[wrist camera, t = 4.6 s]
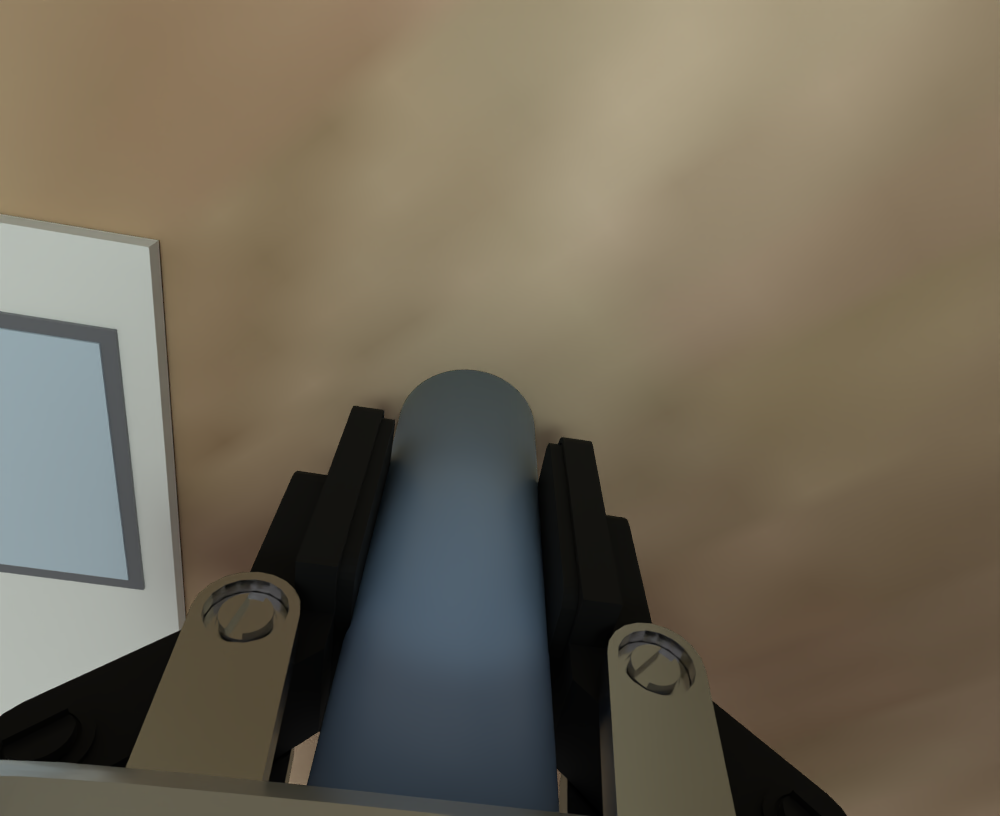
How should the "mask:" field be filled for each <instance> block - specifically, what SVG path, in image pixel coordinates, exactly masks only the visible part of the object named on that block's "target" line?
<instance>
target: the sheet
mask: <svg viewBox="0 0 1000 816" xmlns="http://www.w3.org/2000/svg"><path fill="white" fill-rule="evenodd" d="M185 619H186V617H185V603H184V589H183V575H182V561H181V547H180V533H179V519H178V505H177V491H176V477H175V463H174V449H173V435H172V421H171V407H170V393H169V379H168V365H167V351H166V337H165V323H164V309H163V295H162V281H161V267H160V253H159V240H154V239H148V238H142V237H136V236H130V235H124V234H118V233H112V232H106V231H100V230H94V229H88V228H82V227H76V226H70V225H64V224H58V223H52V222H46V221H40V220H34V219H28V218H22V217H16V216H10V215H4V214H0V716H1V715H2V714H3V713H5V712H7V711H8V710H10V709H12V708H14V707H15V706H17V705H19V704H21V703H22V702H24V701H26V700H29V699H31V698H33V697H35V696H37V695H39V694H42V693H44V692H46V691H48V690H50V689H53V688H55V687H57V686H59V685H61V684H63V683H66V682H68V681H70V680H72V679H74V678H77V677H79V676H81V675H83V674H85V673H87V672H90V671H92V670H94V669H96V668H98V667H101V666H103V665H105V664H107V663H109V662H112V661H114V660H116V659H118V658H120V657H122V656H125V655H127V654H129V653H131V652H133V651H136V650H138V649H140V648H142V647H144V646H146V645H149V644H151V643H153V642H155V641H157V640H160V639H162V638H164V637H166V636H168V635H170V634H173V633H175V632H177V631H179V630H181V629H182V627H183V624H184V622H185Z"/></svg>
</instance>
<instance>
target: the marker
mask: <svg viewBox="0 0 1000 816" xmlns="http://www.w3.org/2000/svg"><path fill="white" fill-rule="evenodd" d="M307 786H317V787H327V788H336V789H346V790H356V791H365V792H374V793H384V794H393V795H402V796H412V797H421V798H430V799H440V800H449V801H458V802H467V803H476V804H486V805H495V806H504V807H513V808H522V809H531V810H541V811H550V812H559V798H558V782H557V767H556V751H555V736H554V720H553V705H552V689H551V674H550V658H549V652H548V637H547V621H546V605H545V589H544V574H543V558H542V542H541V526H540V511H539V495H538V473H537V457H536V442H535V426H534V419H533V415H532V412H531V409H530V407H529V405H528V403H527V402H526V400H525V399H524V397H523V396H522V395H521V394H520V393H519V392H518V390H516V389H515V388H514V387H513V386H512V385H511V384H509V383H508V382H506V381H504V380H503V379H501V378H499V377H497V376H494V375H492V374H489V373H485V372H481V371H475V370H455V371H448V372H444V373H441V374H438V375H436V376H433V377H431V378H429V379H427V380H426V381H424V382H423V383H421V384H420V385H419V386H417V387H416V388H415V389H414V390H413V391H412V392H411V394H410V395H409V396H408V398H407V399H406V401H405V403H404V405H403V407H402V410H401V412H400V416H399V420H398V424H397V428H396V432H395V436H394V440H393V444H392V453H391V461H390V466H389V470H388V474H387V478H386V482H385V486H384V490H383V494H382V498H381V502H380V506H379V510H378V514H377V519H376V523H375V527H374V531H373V535H372V539H371V543H370V547H369V551H368V555H367V559H366V563H365V567H364V571H363V575H362V580H361V584H360V588H359V592H358V596H357V600H356V604H355V608H354V612H353V616H352V620H351V624H350V627H349V629H348V630H347V632H346V635H345V637H344V640H343V643H342V647H341V651H340V655H339V659H338V663H337V667H336V671H335V675H334V679H333V683H332V687H331V691H330V695H329V699H328V703H327V707H326V711H325V715H324V719H323V723H322V727H321V731H320V735H319V739H318V743H317V747H316V751H315V755H314V759H313V763H312V767H311V771H310V775H309V779H308V783H307Z"/></svg>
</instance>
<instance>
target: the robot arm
mask: <svg viewBox="0 0 1000 816" xmlns="http://www.w3.org/2000/svg"><path fill="white" fill-rule="evenodd" d="M394 426H395V420H392V419H385V418H384V410H379V409H373V408H366V407H359V406H353V408H352V410H351V413H350V415H349V418H348V421H347V423H346V426H345V429H344V432H343V434H342V437H341V440H340V442H339V445H338V448H337V451H336V453H335V456H334V459H333V461H332V464H331V467H330V470H329V472H328V475H322V474H315V473H308V472H301V471H296V472H295V473H294V475H293V476H292V478H291V480H290V483H289V485H288V487H287V490H286V492H285V494H284V496H283V499H282V501H281V503H280V505H279V508H278V510H277V512H276V515H275V517H274V519H273V521H272V524H271V526H270V528H269V530H268V533H267V535H266V537H265V540H264V542H263V544H262V546H261V549H260V551H259V553H258V555H257V558H256V560H255V562H254V564H253V567H252V569H251V571H250V572H241V573H237V574H233V575H229V576H225V577H223V578H221V579H219V580H217V581H215V582H213V583H211V584H209V585H208V586H207V587H206V588H205V589H203V590H202V591H201V592H200V593H199V594H198V595H197V597H196V598H195V600H194V602H193V603H192V605H191V607H190V609H189V612H188V614H187V617H186V619H185V622H184V624H183V627H182V629H181V630H179V631H177V632H175V633H173V634H170V635H168V636H166V637H164V638H162V639H160V640H157V641H155V642H153V643H151V644H149V645H146V646H144V647H142V648H140V649H138V650H136V651H133V652H131V653H129V654H127V655H125V656H122V657H120V658H118V659H116V660H114V661H112V662H109V663H107V664H105V665H103V666H101V667H98V668H96V669H94V670H92V671H90V672H87V673H85V674H83V675H81V676H79V677H77V678H74V679H72V680H70V681H68V682H66V683H63V684H61V685H59V686H57V687H55V688H53V689H50V690H48V691H46V692H44V693H42V694H39V695H37V696H35V697H33V698H31V699H29V700H26V701H24V702H22V703H21V704H19V705H17V706H15V707H14V708H12V709H10V710H8V711H7V712H5V713H3V714H2V715H1V716H0V816H847V815H846V814H845V812H844V811H843V810H842V808H841V807H840V806H839V805H838V804H837V803H836V802H835V801H834V800H833V799H832V798H831V797H830V796H829V795H828V794H827V793H825V792H824V791H823V790H822V789H820V788H819V787H818V786H817V785H815V784H814V783H813V782H812V781H811V780H809V779H808V778H807V777H806V776H804V775H803V774H802V773H801V772H799V771H798V770H797V769H796V768H794V767H793V766H792V765H791V764H790V763H788V762H787V761H786V760H785V759H783V758H782V757H781V756H780V755H778V754H777V753H776V752H775V751H773V750H772V749H771V748H770V747H769V746H767V745H766V744H765V743H764V742H762V741H761V740H760V739H759V738H757V737H756V736H755V735H754V734H752V733H751V732H750V731H749V730H748V729H746V728H745V727H744V726H743V725H741V724H740V723H739V722H738V721H736V720H735V719H734V718H733V717H731V716H730V715H729V714H728V713H727V712H725V711H724V710H723V709H722V708H720V707H719V706H718V705H717V704H715V703H714V702H713V701H712V698H711V693H710V688H709V683H708V678H707V673H706V670H705V667H704V664H703V662H702V659H701V657H700V656H699V655H698V653H697V652H696V651H695V649H694V648H693V646H692V645H690V644H689V643H688V642H687V641H686V640H685V639H683V638H682V637H681V636H680V635H678V634H676V633H674V632H672V631H671V630H669V629H667V628H664V627H661V626H658V625H655V624H652V622H651V618H650V613H649V609H648V605H647V600H646V596H645V591H644V587H643V583H642V578H641V574H640V570H639V565H638V561H637V556H636V552H635V548H634V543H633V539H632V535H631V530H630V526H629V523H628V520H627V519H625V518H623V517H616V516H609V515H606V513H605V508H604V502H603V497H602V492H601V486H600V481H599V476H598V471H597V465H596V460H595V455H594V449H593V445H592V442H590V441H584V440H578V439H571V438H565V437H561V438H560V440H559V443H558V444H552V443H549V444H548V446H547V449H546V453H545V457H544V461H543V465H542V469H541V473H540V477H539V481H538V495H539V511H540V526H541V542H542V558H543V574H544V589H545V605H546V621H547V637H548V652H549V658H550V674H551V689H552V705H553V720H554V736H555V751H556V767H557V769H558V770H559V771H560V772H561V778H560V784H559V812H550V811H541V810H531V809H522V808H513V807H504V806H495V805H486V804H476V803H467V802H458V801H449V800H440V799H430V798H421V797H412V796H402V795H393V794H384V793H374V792H365V791H356V790H346V789H336V788H327V787H317V786H307V785H297V784H288V783H289V778H290V773H291V768H292V763H293V757H294V747H295V746H297V745H299V744H300V743H302V742H303V741H305V740H306V739H308V738H310V737H311V736H313V735H314V734H316V733H317V732H320V731H321V727H322V723H323V719H324V715H325V711H326V707H327V703H328V699H329V695H330V691H331V687H332V683H333V679H334V675H335V671H336V667H337V663H338V659H339V655H340V651H341V647H342V643H343V640H344V637H345V635H346V632H347V630H348V629H349V627H350V624H351V620H352V616H353V612H354V608H355V604H356V600H357V596H358V592H359V588H360V584H361V580H362V575H363V571H364V567H365V563H366V559H367V555H368V551H369V547H370V543H371V539H372V535H373V531H374V527H375V523H376V519H377V514H378V510H379V506H380V502H381V498H382V494H383V490H384V486H385V482H386V478H387V474H388V470H389V466H390V461H391V453H392V444H393V435H394Z"/></svg>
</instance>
